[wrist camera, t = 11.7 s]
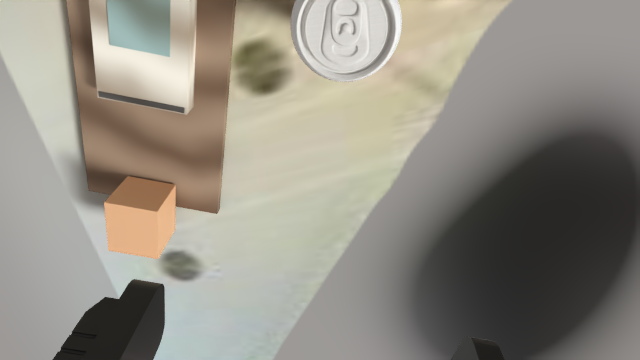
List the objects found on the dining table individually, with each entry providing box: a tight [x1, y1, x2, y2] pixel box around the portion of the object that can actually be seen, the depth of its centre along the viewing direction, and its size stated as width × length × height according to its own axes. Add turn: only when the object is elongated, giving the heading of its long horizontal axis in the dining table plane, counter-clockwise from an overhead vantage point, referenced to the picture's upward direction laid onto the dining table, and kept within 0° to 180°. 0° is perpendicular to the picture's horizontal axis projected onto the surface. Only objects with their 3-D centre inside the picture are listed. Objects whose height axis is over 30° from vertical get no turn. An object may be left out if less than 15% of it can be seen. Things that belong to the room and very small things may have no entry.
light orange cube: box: [104, 176, 176, 259], centre depth 42 cm, size 6×5×5 cm
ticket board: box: [66, 0, 236, 214], centre depth 37 cm, size 30×14×3 cm, turn 169°
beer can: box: [291, 0, 402, 82], centre depth 28 cm, size 6×6×15 cm
